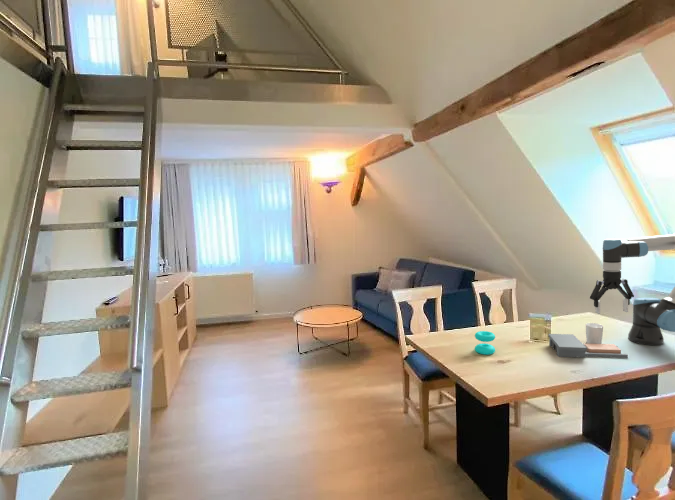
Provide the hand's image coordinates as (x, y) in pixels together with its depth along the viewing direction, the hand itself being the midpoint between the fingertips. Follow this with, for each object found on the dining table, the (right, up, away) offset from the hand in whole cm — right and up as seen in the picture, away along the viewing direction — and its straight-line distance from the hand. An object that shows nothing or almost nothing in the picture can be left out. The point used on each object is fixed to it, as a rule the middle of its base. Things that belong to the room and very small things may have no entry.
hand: (611, 312), depth 204 cm
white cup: (0, -19, +14) cm, 24 cm away
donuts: (-60, -22, +10) cm, 64 cm away
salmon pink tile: (-4, -20, +2) cm, 21 cm away
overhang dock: (-10, -20, +3) cm, 23 cm away
